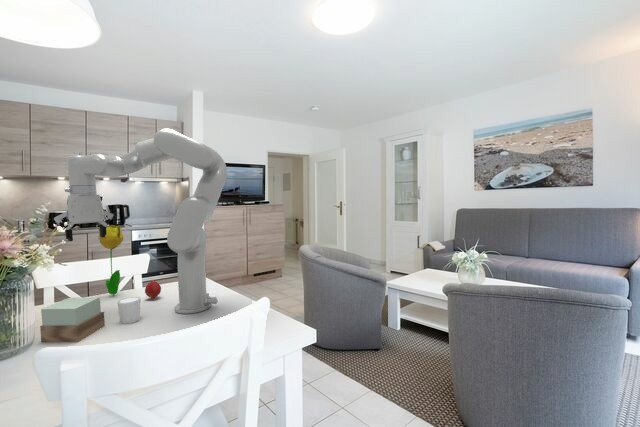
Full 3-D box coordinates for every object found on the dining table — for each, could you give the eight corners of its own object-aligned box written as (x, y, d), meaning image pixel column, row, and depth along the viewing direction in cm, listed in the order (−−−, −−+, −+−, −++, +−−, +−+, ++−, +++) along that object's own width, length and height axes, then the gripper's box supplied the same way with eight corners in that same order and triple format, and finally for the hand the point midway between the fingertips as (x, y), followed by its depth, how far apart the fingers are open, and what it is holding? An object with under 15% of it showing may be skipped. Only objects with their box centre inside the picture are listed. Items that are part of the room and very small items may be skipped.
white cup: (113, 322, 106) (112, 301, 106) (134, 315, 112) (132, 295, 112) (126, 325, 103) (124, 304, 102) (146, 318, 109) (145, 298, 108)
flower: (96, 298, 131) (92, 226, 129) (113, 292, 139) (109, 224, 137) (114, 299, 129) (109, 226, 127) (130, 293, 137) (126, 224, 135)
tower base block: (104, 326, 103) (104, 311, 103) (78, 342, 92) (77, 326, 92) (71, 327, 103) (70, 312, 103) (41, 343, 92) (40, 326, 92)
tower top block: (100, 312, 102) (99, 297, 102) (76, 325, 92) (75, 308, 92) (70, 312, 102) (68, 297, 102) (42, 325, 92) (41, 309, 92)
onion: (143, 298, 130) (142, 279, 129) (159, 295, 133) (158, 276, 133) (147, 302, 125) (146, 282, 125) (163, 298, 129) (162, 279, 129)
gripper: (54, 191, 103) (59, 243, 104) (114, 190, 116) (118, 236, 118) (49, 191, 108) (53, 241, 109) (107, 191, 121) (111, 235, 122)
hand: (87, 239), depth 113 cm, fingers open, 9 cm apart
